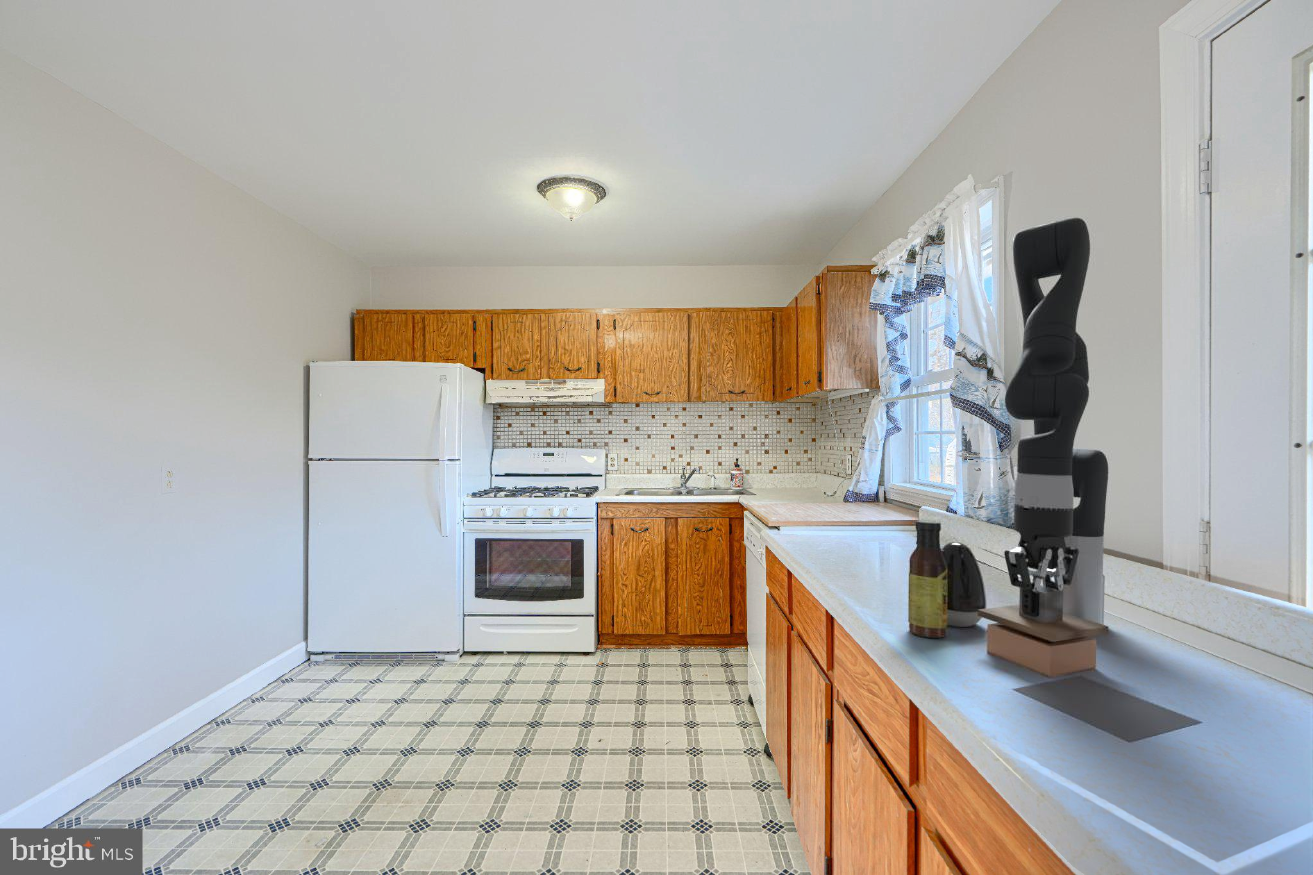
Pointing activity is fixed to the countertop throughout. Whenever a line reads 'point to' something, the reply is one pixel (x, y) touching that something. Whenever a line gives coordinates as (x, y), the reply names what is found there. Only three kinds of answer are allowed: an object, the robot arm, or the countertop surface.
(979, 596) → the black egg-shaped device
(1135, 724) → the mat
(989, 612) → the lid
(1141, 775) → the countertop surface
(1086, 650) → the terracotta storage tray
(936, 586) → the sauce bottle
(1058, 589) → the robot arm
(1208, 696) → the countertop surface
